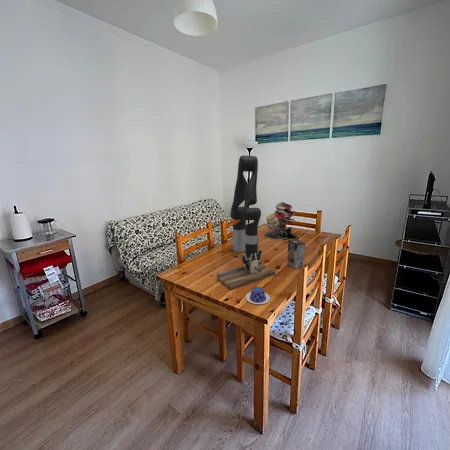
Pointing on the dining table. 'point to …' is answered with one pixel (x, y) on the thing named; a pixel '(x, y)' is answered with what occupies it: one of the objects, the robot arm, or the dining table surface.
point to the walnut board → (243, 276)
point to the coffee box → (296, 253)
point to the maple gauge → (253, 266)
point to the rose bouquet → (280, 222)
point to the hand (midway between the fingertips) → (251, 268)
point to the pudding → (257, 296)
